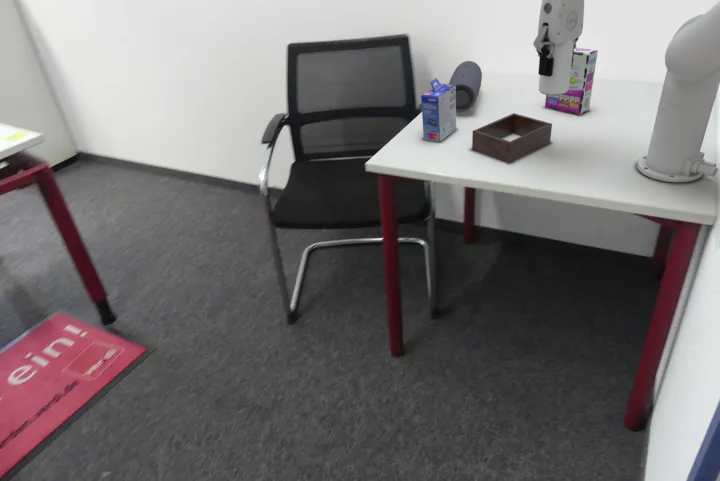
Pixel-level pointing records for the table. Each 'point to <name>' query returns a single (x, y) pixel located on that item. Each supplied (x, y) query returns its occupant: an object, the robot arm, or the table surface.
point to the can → (558, 70)
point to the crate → (508, 151)
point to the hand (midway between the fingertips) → (555, 70)
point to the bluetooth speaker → (466, 85)
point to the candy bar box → (577, 84)
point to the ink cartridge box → (439, 111)
